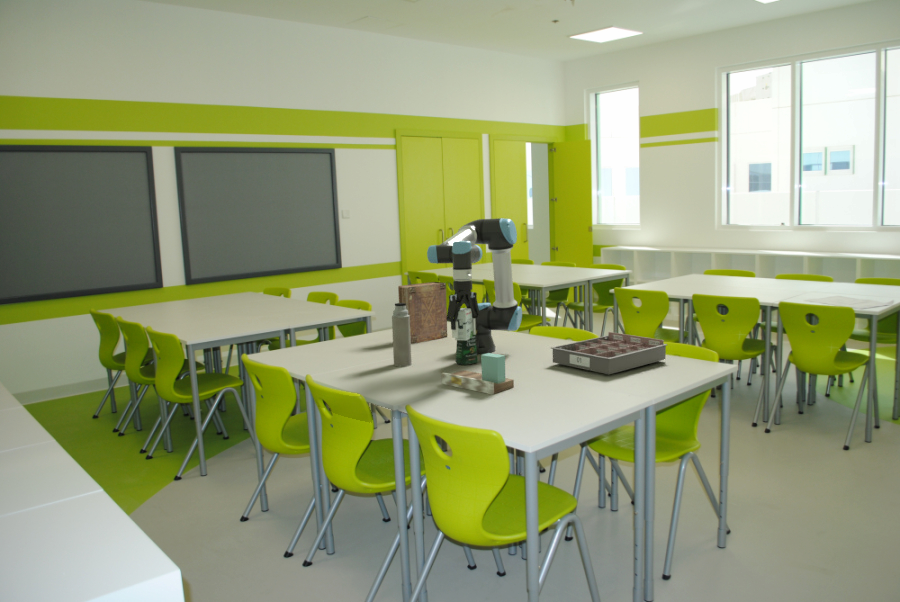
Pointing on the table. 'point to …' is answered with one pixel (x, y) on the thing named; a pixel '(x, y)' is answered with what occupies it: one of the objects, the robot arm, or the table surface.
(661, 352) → the organizer tray
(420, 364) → the table surface
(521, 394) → the table surface
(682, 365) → the table surface
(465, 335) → the ink box
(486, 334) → the robot arm
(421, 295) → the book
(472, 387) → the brown flat block
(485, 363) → the teal block
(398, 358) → the thermos bottle
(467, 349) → the coffee jar
